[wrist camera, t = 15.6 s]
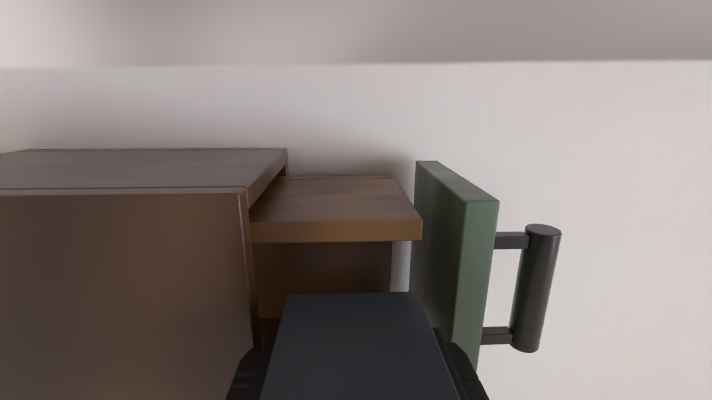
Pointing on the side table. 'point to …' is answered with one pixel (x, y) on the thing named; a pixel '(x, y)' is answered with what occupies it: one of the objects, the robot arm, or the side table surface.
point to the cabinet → (128, 271)
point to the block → (356, 350)
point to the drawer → (374, 249)
